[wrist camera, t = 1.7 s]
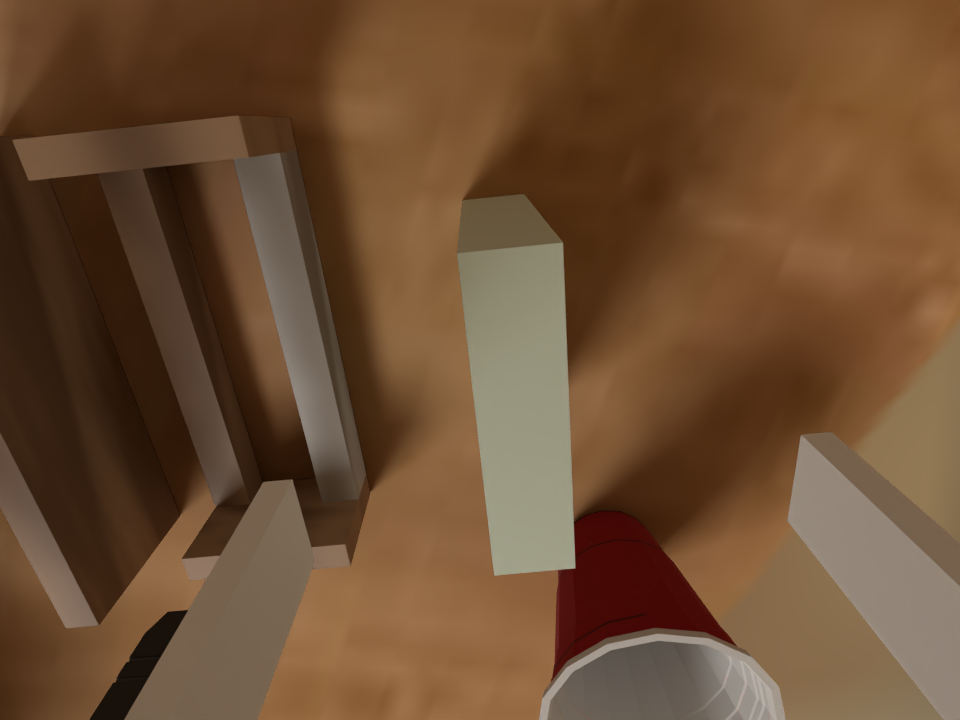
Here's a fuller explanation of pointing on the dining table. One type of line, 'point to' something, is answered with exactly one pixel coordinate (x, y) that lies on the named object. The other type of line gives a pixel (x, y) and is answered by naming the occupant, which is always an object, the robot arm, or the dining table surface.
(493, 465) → the door panel
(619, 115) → the dining table surface
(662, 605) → the plastic cup
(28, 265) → the track
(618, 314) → the dining table surface
